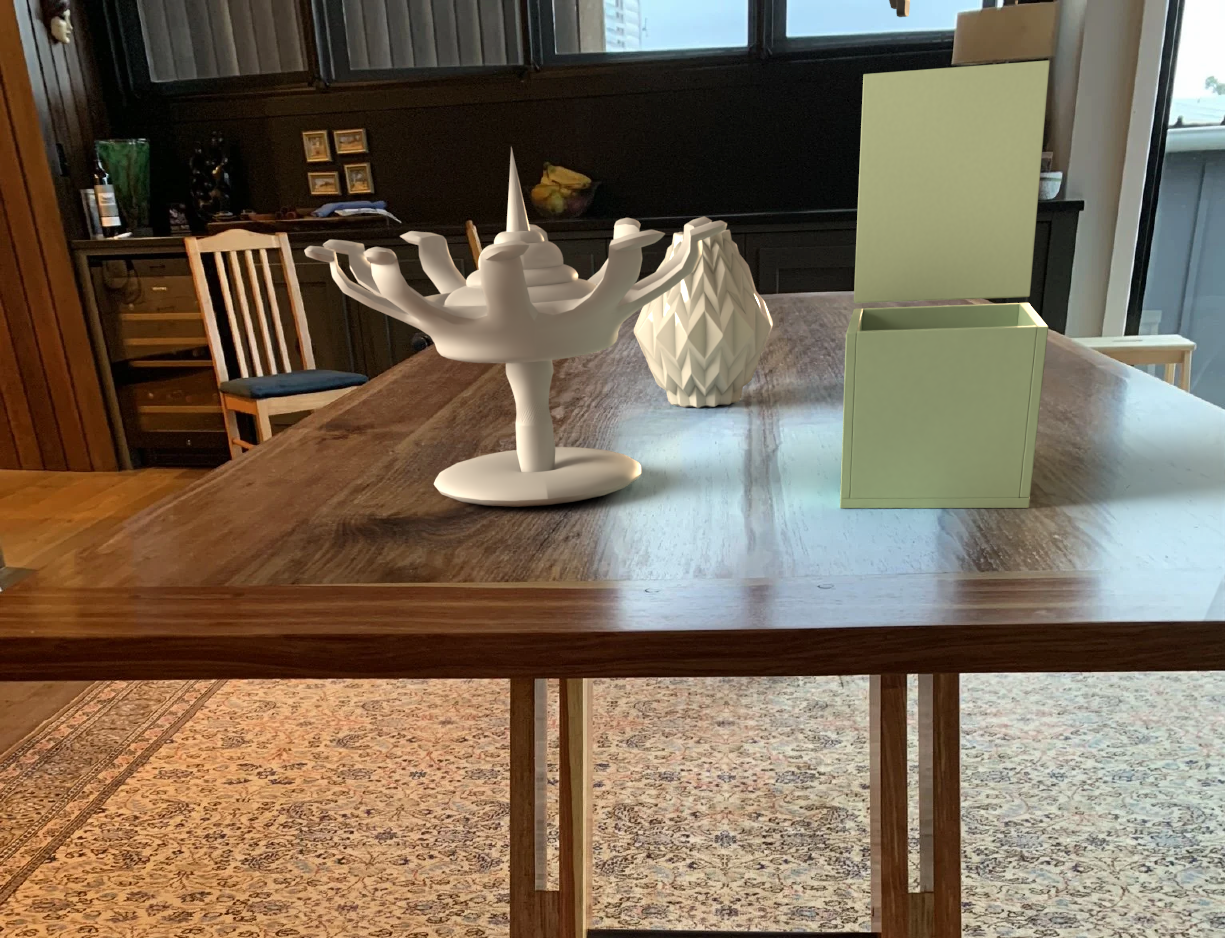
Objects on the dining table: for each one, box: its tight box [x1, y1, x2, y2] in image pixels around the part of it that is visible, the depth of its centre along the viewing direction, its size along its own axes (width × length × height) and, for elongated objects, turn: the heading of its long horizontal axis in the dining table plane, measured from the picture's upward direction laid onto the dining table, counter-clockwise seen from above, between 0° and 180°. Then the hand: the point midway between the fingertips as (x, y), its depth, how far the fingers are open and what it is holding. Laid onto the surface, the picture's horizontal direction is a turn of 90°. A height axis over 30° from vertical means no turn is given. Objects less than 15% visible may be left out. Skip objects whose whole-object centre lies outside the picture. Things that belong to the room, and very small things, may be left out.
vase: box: [633, 229, 774, 409], centre depth 141 cm, size 16×16×18 cm
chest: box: [839, 302, 1049, 509], centre depth 100 cm, size 17×15×13 cm
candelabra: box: [304, 146, 728, 508], centre depth 104 cm, size 34×35×27 cm
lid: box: [853, 60, 1050, 304], centre depth 101 cm, size 17×15×1 cm
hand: (956, 11), depth 97 cm, fingers open, 8 cm apart
